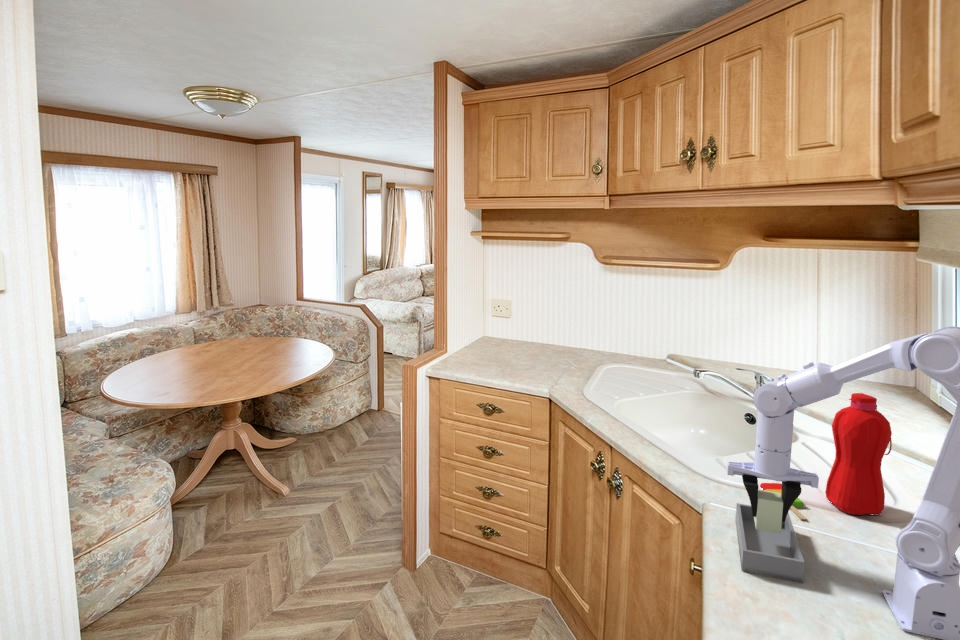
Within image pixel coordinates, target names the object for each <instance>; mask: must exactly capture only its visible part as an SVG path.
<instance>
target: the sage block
mask: <svg viewBox="0 0 960 640" xmlns="http://www.w3.org/2000/svg"><path fill="white" fill-rule="evenodd" d="M782 513H783V500H782V497H781V494H780V493H778V492H771V491H764V490H760V489H758V495H757V515H756V517H754V522H755V527H756V529H757V530H763V531H768V532H774V533H779V534H781V525H782Z"/></svg>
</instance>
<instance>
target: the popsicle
mask: <svg viewBox="0 0 960 640" xmlns="http://www.w3.org/2000/svg"><path fill="white" fill-rule="evenodd" d="M760 487H761V488H763V490H764V491H771V492H778V493H780V494H781V495H782V483H777V482H761V483H760V485H759V488H760ZM804 505H805V503H804V502H803V501H802V500H801V499H800V498H799V496H798V497H797V499H796V500H795V501H794V503H793V504H792V506H791V507H790V509H789V510H791V511H792V512H793V513H794V514H796V516H797V517H798V518H799V519H800V520H803V521H806V520H807V517H806V516H804V515H803V514H802V513H801V512H800V511H799V510H798V509H804V507H805V506H804Z"/></svg>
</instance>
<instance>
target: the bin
mask: <svg viewBox="0 0 960 640" xmlns="http://www.w3.org/2000/svg"><path fill="white" fill-rule="evenodd" d="M735 527H736V534H737V535H736V536H737V543H738V550H739V551H738V552H739V560H740V567H741V571H742V572H747V573H750V574H756V575H760V576H764V577H765V576H766V577H771V578H775V579H780V580H784V581H788V582H789V581H790V582H795V583H799V584H804V577H805V576H804V573H805V560H804V556H803V553H802V550H801V547H800V545H799V541H798V538H797V535H796V532H795V528H794V525H793V522H792V519H791V517H790V513H789V512H788V514H787V516H786V520H785V522H783V521H782V525H781V534H779V533H774V532H768V531H763V530H757V529H756V527H755V522H754V516H752V512H751V504H750V505H749V504H745V503H736V505H735Z"/></svg>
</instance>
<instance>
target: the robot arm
mask: <svg viewBox="0 0 960 640" xmlns="http://www.w3.org/2000/svg"><path fill="white" fill-rule="evenodd" d="M802 368H803V369H800V370H799V371H796V372H793V373H791V374H788V375H786V374H785V373H784V374H781V375H778V376H777V377H776V378H777V379H776V380H773V381H770V382H767V383H763V384H762V385H761V386H759V387H758V388H756V390H755V391H754V393H753V399H752V401H753V405H754V407H755V408H756V409H757V419H756V420H757V421H756V431H755V432H756V433H755V445H754V446H755V447H754V459H753V460H754V461H753V462H749V461H748V462H741V461H740V462H738V461H736V462H735V461H727V462H726V463H727V466H726V474H727V476H735V475H737V476H741V477H742V482H743V486H744V488H745V491H746V492H747V495H748V498H749V502H750V505H751V512H752V516H754V517H756V515H757V495H758V490H759V489H760V486H759V481H758V479H763V480H770V481H776V482H781V484H782V495H781V497H782V500H783V513H782V521H783V522H785V520H786V516H787V514H788V513H789V511H790V510H791V509H790V507H791V506H792V504H793V503H794V501H795V500H796V499H797V497H798V498H799V496H800V495H801V494H802V487H801V485H804V486H810V487H811V488H812V489H813V488H815V489H818V488H819V482H820V481H819V480H820V477H819V476H818V474H817V472H816V473H814V472H808V471H804V470H801V469H796V468H793V467H791V459H792V448H793V447H792V446H793V445H792V444H793V433H794V420H795V419H794V415H795V410H796V409H797V408H803V407H805V406H809V405H812V404H814V403H817V402H820V401H823V400H826V399H829V398H832V397H836V396H837V395H839V394H840V392H841V390H842V388H843V385H844V384H846V383H849V382H852V381H855V380H858V379H863V378H865V377H867V376H870V375H874V374H876V373H880V372H883V371H886V370H889V369H892V368H893V369H898V370H903V371H907V372H912V371H914V370H916V369H918V370H919V371H920V372H922V373H923V374H924V375H926V376H927V377H929V378H931V379H932V380H934V381H935V382H937V383H939V384H941V385H942V386H943V387H944V388H945V390H946V391H947V392H948V394H950V396H952V398H953V399H954V400H955V401H956V403H957V404H956V407H955V410H954V412H953V415H952V417H951V421H950V422H949V425H948V428H947V431H946V433H945V436H944V439H943V442H942V445H941V447H940V449H939V452H938V456H937V459H936V461H935V464H934V466H933V469H932V471H931V474H930V478H929V480H928V483H927V486H926V488H925V491H924V494H923V496H922V499H921V501H920V503H919V505H918V506H917V509H916V510H915V512H914V514H913V516H912V518H911V520H910V521H909V523H907V525H906V526H905V527H904V528H903V529H902V530H900V531H899V532H898V534H897V535H896V538H895V542H896V543H895V544H896V548H897V555H896V562H895V563H896V565H895V574H894V581H893V582H894V583H893V589H892V590H893V591H892V590H886V589H883V590H882V595H883V597H884V599H885V600H886V602H887V603H888V604H887V605H888V606H889V607H890V610H891V612H892V614H893V616H894V618H895V619H896V622H897V624H898V625H899V627H900V629H901V630H902V631H904V632H909V633H912V634H917V635H922V636H925V637H926V636H927V637H930V638H935V639H940V640H960V584H959V582H960V581H959V580H960V563H959V559H958V557H957V555H956V552H957V550H959V548H960V326H946V327H941V328H939V329H938V330H935V331H934V332H932V333H929V332H925V333H921V334H920V333H919V334H915V335H913V336H909V337H904V338H900V339H897V340H893V341H892V342H889V343H886V344H884V345H882V346H880V347H877V348H875V349H872V350H869V351H868V352H865V353H863V354H860V355H857V356H855V357H853V358H851V359H848V360H846V361H844V362H841V363H839V364H836V365H830V364H826V363H823V362H819V363H814V362H813V361H812V362H808V363H805V364H803V365H802Z"/></svg>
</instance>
